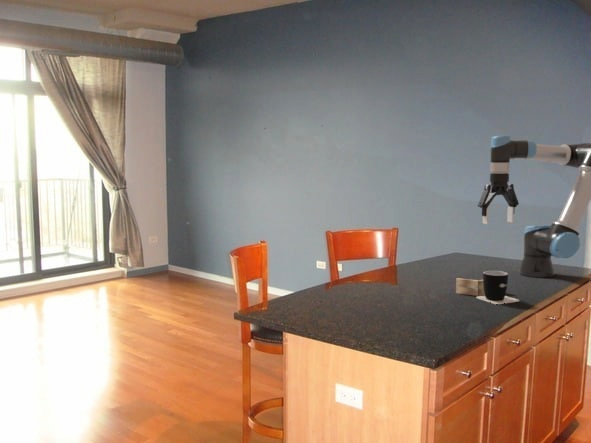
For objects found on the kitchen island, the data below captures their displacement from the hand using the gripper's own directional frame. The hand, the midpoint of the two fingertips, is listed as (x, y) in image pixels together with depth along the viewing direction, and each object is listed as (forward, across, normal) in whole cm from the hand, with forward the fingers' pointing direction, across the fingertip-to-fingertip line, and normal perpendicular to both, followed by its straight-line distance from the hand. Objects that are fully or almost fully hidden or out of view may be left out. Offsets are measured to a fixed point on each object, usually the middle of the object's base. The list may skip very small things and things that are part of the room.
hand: (497, 223), depth 244 cm
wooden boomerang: (+27, +17, +8) cm, 33 cm away
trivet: (+27, +18, +20) cm, 38 cm away
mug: (+26, +18, +20) cm, 38 cm away
